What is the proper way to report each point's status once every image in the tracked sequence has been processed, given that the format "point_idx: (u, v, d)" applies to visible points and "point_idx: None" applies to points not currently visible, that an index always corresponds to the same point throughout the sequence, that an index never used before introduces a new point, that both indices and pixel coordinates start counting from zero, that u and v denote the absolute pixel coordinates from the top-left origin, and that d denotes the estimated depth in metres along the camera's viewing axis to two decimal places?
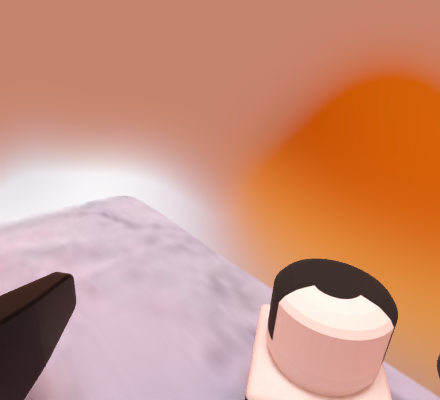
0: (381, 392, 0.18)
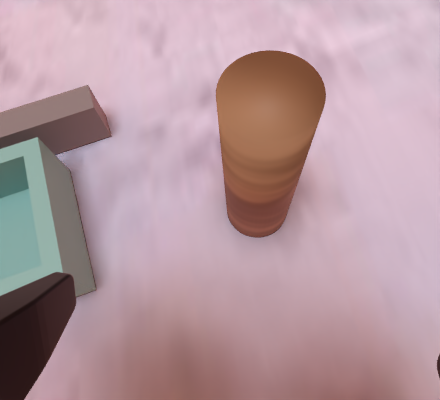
0: None
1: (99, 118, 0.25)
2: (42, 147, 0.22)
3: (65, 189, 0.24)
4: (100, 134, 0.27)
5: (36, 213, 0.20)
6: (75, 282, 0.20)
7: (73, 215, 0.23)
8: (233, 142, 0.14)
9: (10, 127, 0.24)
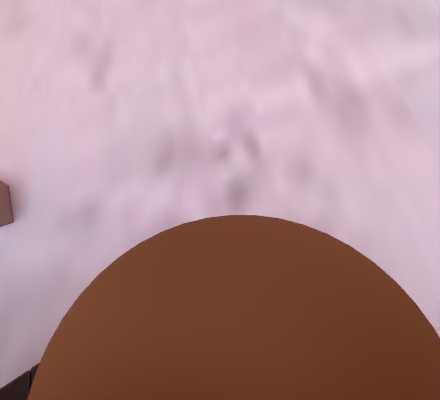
0: None
1: None
2: None
3: None
4: None
5: None
6: None
7: None
8: None
9: None
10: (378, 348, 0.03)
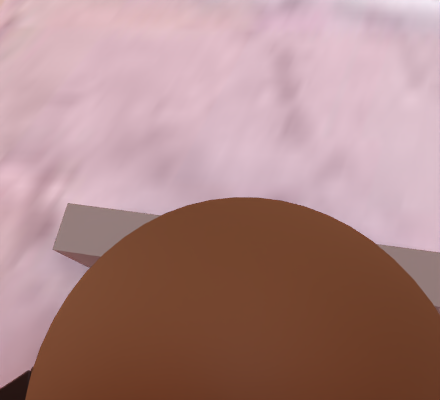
0: None
1: None
2: None
3: None
4: None
5: None
6: None
7: None
8: None
9: None
10: (378, 322, 0.03)
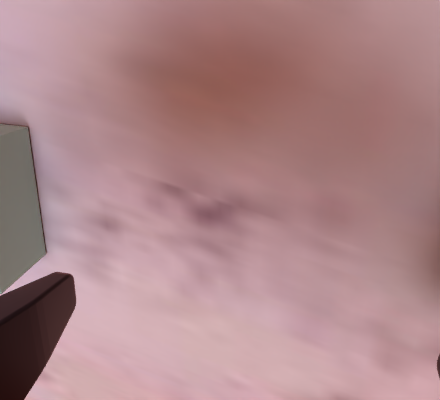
0: None
1: None
2: None
3: None
4: None
5: None
6: None
7: None
8: None
9: None
10: None
